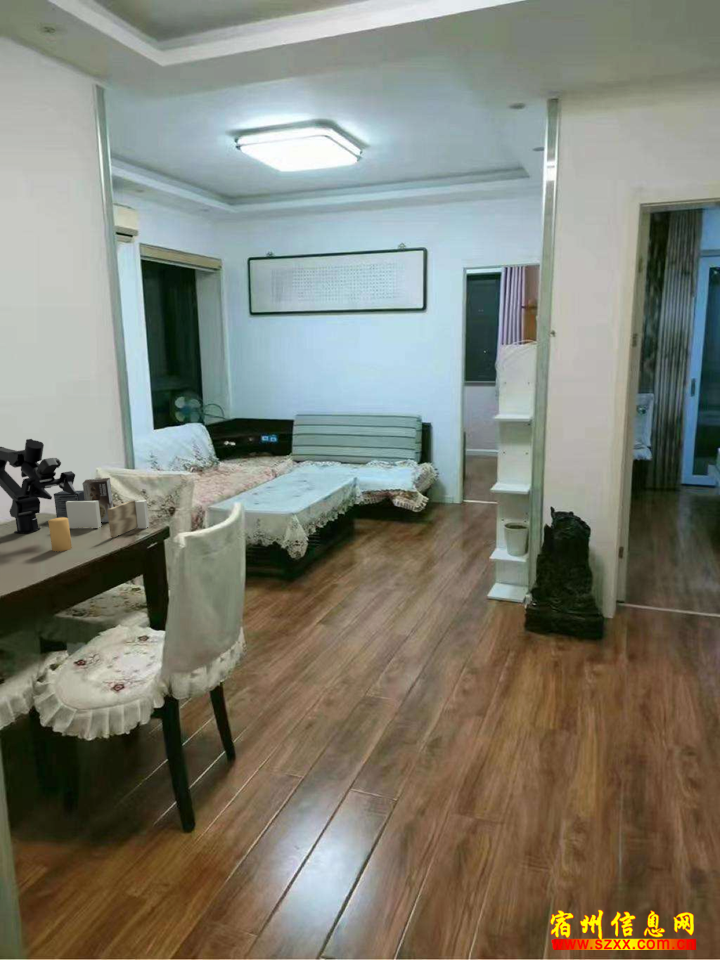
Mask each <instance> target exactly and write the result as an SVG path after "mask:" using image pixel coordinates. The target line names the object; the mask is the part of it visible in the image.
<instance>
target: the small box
mask: <svg viewBox="0 0 720 960" xmlns="http://www.w3.org/2000/svg"><path fill="white" fill-rule="evenodd" d="M75 492H76V493H75V495H73V494H70V493H68V492H65V491H63V490H61V491H58V492H55V493H53V500H54V506H55V514H56V518H63V517H64V518H68V517H67V509H66V502H67V501H85V498H84V490H75Z"/></svg>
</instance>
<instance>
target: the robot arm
mask: <svg viewBox="0 0 720 960" xmlns="http://www.w3.org/2000/svg"><path fill="white" fill-rule="evenodd" d="M44 446H45V445H44V443H43V442H42V441H39V440H36V439H35V440H34V439H32V438H27V439H26V440H25V444H24V449H22V450H16V449H11V448H6V447H4V446H0V488H1V489H2V490H3V491H4V492H5V493H6V494H7V495H8V496H9V497H10V498H11V499H12V502H11V506H10V508H9V515H10V517H12V518H15V524H16V530H15V531H14V532H13V533H14V534H32V533H33V532H36V531H38V530H39V531H40V530H41V527H40V526H39V521H38V518H37V515H36V514H40V512H41V511H40V510H41V501H40V499H45V500H52V498H53V496H52V495H51V494H50V493H49V491H47V490H46V489H51V488H53V487H59V488H60V489H61V490H62V491H65V492H68V493H70V494H73V495H75V493H76V492H75V491H76V490H75V488H74V482H75V478H76V473H74V472H73V471H72V470H69V471H64V472H61V473H60V475H59V478H55V476H56V474H57V473H56V469H59V468H60V466H61V465H62V462H61V460H60V458H57V457H49V458H48V457H47V458H44V459H43V454H44V453H43V452H44ZM39 462H40V463H39ZM8 463H9V466H11V467H12V468H14V469H15V468H20V476H21V478H22V479H23V480H22V483H21V485H19V484H18V483H17V481H16V480H15V479H14V478H13V477H12V475H10V474H9V473H8V472H7V471H6V465H7V464H8Z"/></svg>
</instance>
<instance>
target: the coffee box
mask: <svg viewBox="0 0 720 960" xmlns="http://www.w3.org/2000/svg"><path fill="white" fill-rule="evenodd" d="M82 488H83V490H82V491H84V498H85V501H99V509H100V518H101V522H102V523H109V519H108V510H107V509H110V508H112V507H114V502H113V493H112V485H111V477H103V478H91V479H85V480H84V481H83V482H82Z"/></svg>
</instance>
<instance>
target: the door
mask: <svg viewBox="0 0 720 960" xmlns="http://www.w3.org/2000/svg"><path fill="white" fill-rule="evenodd" d="M135 502H136V500H135V499H133V500H132V499H131V500H129V501H125V502H123V503H121V504H118V505H116V506H113V507H112V508H110V509H107V510H108V519H109V522H108V527H109V534H110V535H109V536H110V538H116V537H118V535H119V536H120V535H123V534H125V533H127V532H129V531H132V530H134V529H136V528H137V529H138V524H137V514H136V505H135Z"/></svg>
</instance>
